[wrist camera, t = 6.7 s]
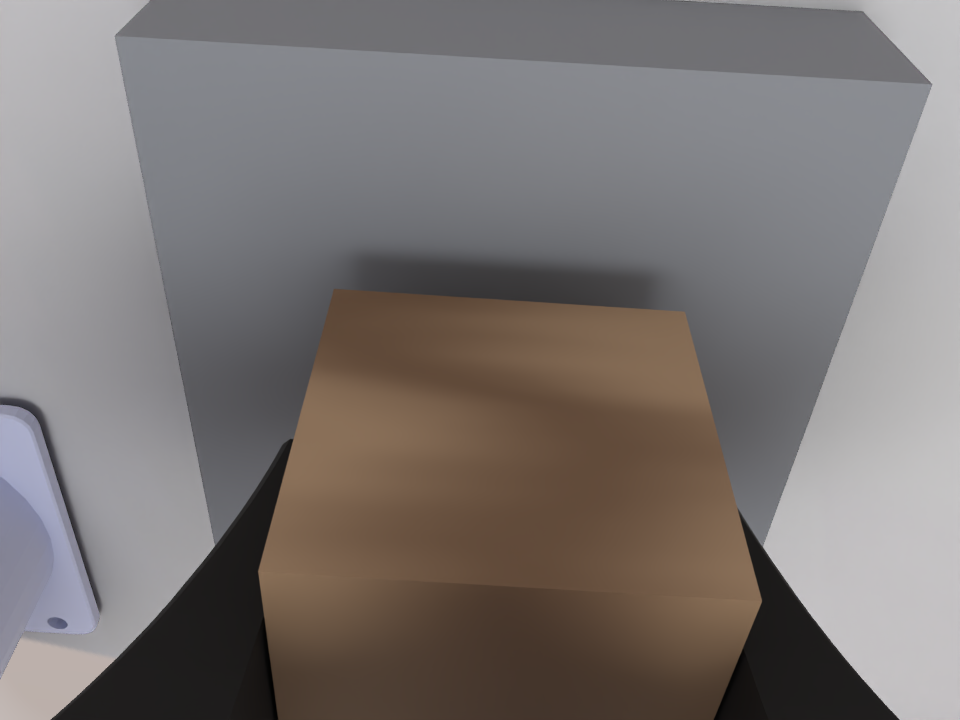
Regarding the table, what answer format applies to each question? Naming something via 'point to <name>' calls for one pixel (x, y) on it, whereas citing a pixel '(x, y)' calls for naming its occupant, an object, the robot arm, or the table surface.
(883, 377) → the table surface
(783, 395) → the gray block
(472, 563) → the walnut cube
